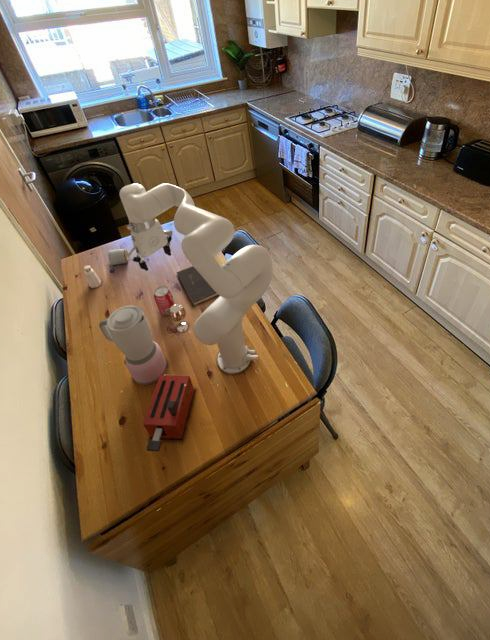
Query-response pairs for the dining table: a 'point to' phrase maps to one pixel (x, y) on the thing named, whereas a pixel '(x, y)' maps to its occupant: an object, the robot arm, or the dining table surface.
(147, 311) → the dining table surface
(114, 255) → the ceramic mug
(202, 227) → the robot arm
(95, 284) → the pepper shaker
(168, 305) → the soda can
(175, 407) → the browning slider
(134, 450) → the dining table surface
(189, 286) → the hardcover book
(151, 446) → the bread lever
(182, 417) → the toaster
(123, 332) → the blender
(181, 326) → the wineglass
